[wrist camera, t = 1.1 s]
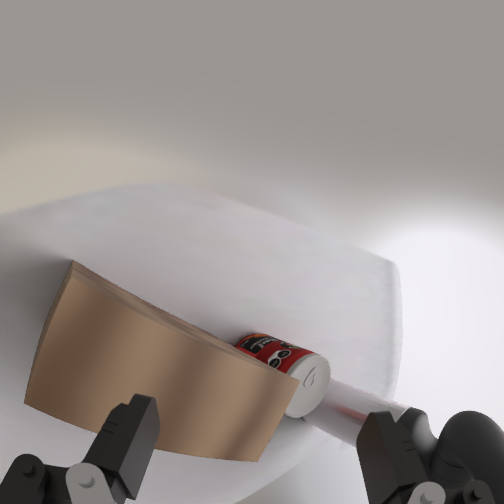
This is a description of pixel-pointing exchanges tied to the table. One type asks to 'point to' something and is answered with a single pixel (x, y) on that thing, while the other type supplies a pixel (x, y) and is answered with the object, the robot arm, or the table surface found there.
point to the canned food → (292, 369)
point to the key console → (152, 372)
